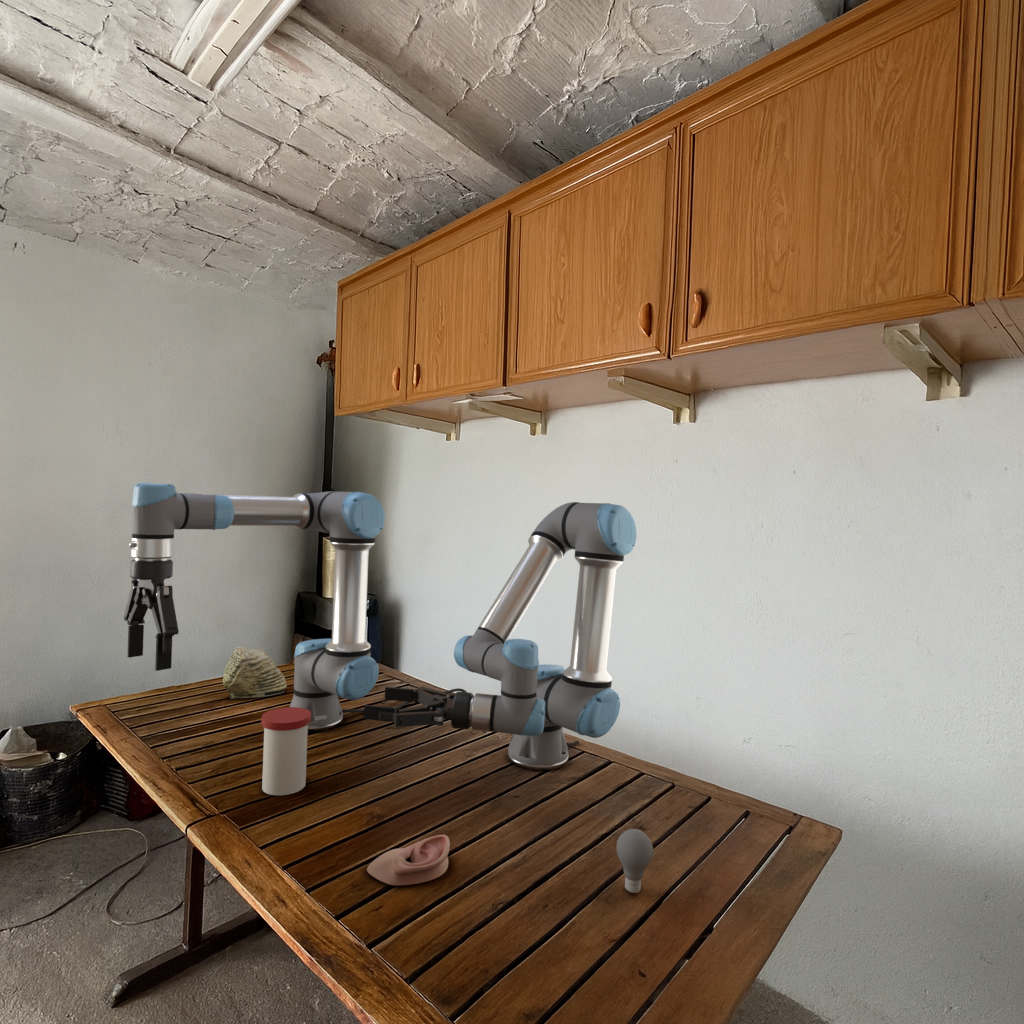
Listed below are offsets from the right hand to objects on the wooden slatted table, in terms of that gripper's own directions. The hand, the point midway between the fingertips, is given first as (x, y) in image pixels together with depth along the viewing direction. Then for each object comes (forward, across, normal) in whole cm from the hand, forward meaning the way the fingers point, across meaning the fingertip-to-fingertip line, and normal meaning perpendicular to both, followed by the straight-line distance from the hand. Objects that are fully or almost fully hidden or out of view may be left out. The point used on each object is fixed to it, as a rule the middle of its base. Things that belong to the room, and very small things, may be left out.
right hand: (375, 702), depth 137 cm
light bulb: (-54, -25, -19) cm, 63 cm away
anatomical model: (-16, -26, -20) cm, 36 cm away
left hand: (+44, -13, +8) cm, 46 cm away
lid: (+19, -1, -4) cm, 20 cm away
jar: (+19, -1, -20) cm, 27 cm away
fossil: (+57, +55, -19) cm, 81 cm away
